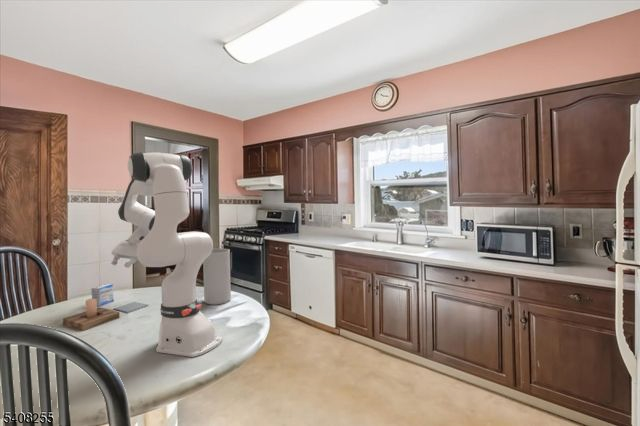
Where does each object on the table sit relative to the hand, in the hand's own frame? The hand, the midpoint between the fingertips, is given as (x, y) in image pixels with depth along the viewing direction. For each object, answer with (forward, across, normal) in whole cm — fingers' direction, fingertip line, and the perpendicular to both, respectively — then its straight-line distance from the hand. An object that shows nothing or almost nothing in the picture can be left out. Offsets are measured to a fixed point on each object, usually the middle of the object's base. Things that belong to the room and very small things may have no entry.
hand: (119, 265), depth 141 cm
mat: (+12, 0, +18) cm, 21 cm away
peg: (+24, 0, +6) cm, 24 cm away
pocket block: (+24, 0, +6) cm, 24 cm away
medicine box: (+13, -18, +17) cm, 28 cm away
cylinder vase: (-6, +30, +35) cm, 47 cm away
